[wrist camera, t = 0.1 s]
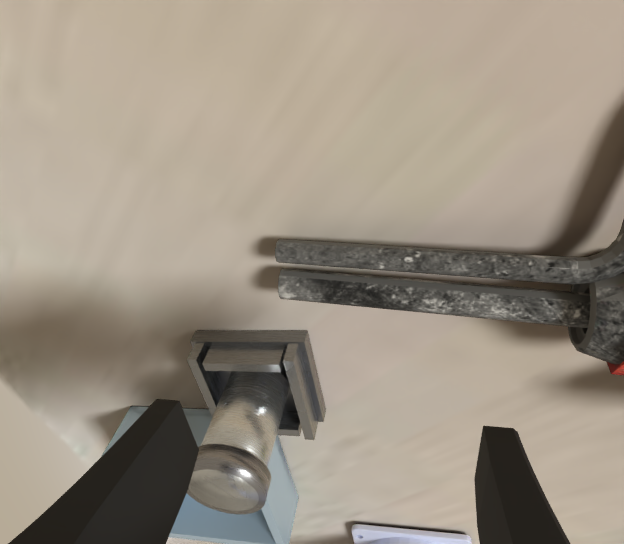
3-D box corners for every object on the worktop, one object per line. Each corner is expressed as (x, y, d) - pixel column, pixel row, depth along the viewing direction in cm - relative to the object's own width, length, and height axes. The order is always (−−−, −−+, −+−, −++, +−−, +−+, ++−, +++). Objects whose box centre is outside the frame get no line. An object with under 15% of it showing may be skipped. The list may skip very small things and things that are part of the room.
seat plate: (325, 409, 27) (319, 440, 25) (226, 405, 28) (215, 434, 27) (307, 330, 24) (299, 360, 22) (195, 330, 25) (180, 358, 23)
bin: (298, 497, 33) (287, 550, 30) (178, 487, 35) (157, 535, 33) (269, 411, 28) (253, 466, 25) (130, 406, 30) (101, 455, 27)
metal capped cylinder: (300, 407, 26) (273, 518, 21) (235, 405, 27) (195, 510, 22) (286, 358, 24) (253, 468, 19) (216, 357, 25) (167, 462, 20)
